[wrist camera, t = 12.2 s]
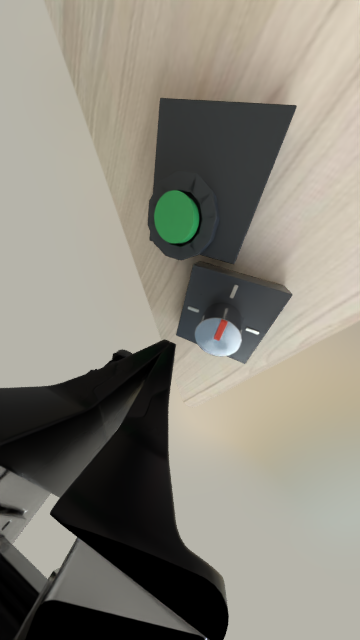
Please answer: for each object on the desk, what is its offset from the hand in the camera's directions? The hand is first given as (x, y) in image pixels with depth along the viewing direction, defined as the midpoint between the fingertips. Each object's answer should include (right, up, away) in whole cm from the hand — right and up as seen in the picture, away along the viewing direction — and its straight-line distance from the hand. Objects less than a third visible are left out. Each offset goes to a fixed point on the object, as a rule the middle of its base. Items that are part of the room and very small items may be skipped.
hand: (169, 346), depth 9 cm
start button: (+1, +11, +4) cm, 12 cm away
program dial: (+6, +2, +7) cm, 10 cm away
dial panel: (+7, +3, +10) cm, 12 cm away
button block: (+3, +14, +5) cm, 16 cm away
